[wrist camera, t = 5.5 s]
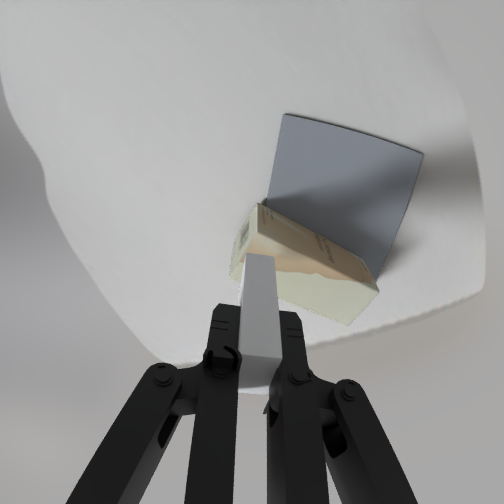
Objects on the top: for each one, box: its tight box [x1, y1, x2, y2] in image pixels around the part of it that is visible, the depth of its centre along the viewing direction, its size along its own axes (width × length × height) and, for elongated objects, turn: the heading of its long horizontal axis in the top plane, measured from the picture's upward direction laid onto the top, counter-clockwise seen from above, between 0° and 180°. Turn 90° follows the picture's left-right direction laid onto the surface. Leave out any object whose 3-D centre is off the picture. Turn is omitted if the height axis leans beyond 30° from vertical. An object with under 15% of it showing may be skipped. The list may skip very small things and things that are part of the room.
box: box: [229, 203, 379, 326], centre depth 22 cm, size 5×4×11 cm
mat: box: [266, 114, 423, 281], centre depth 23 cm, size 16×12×1 cm
